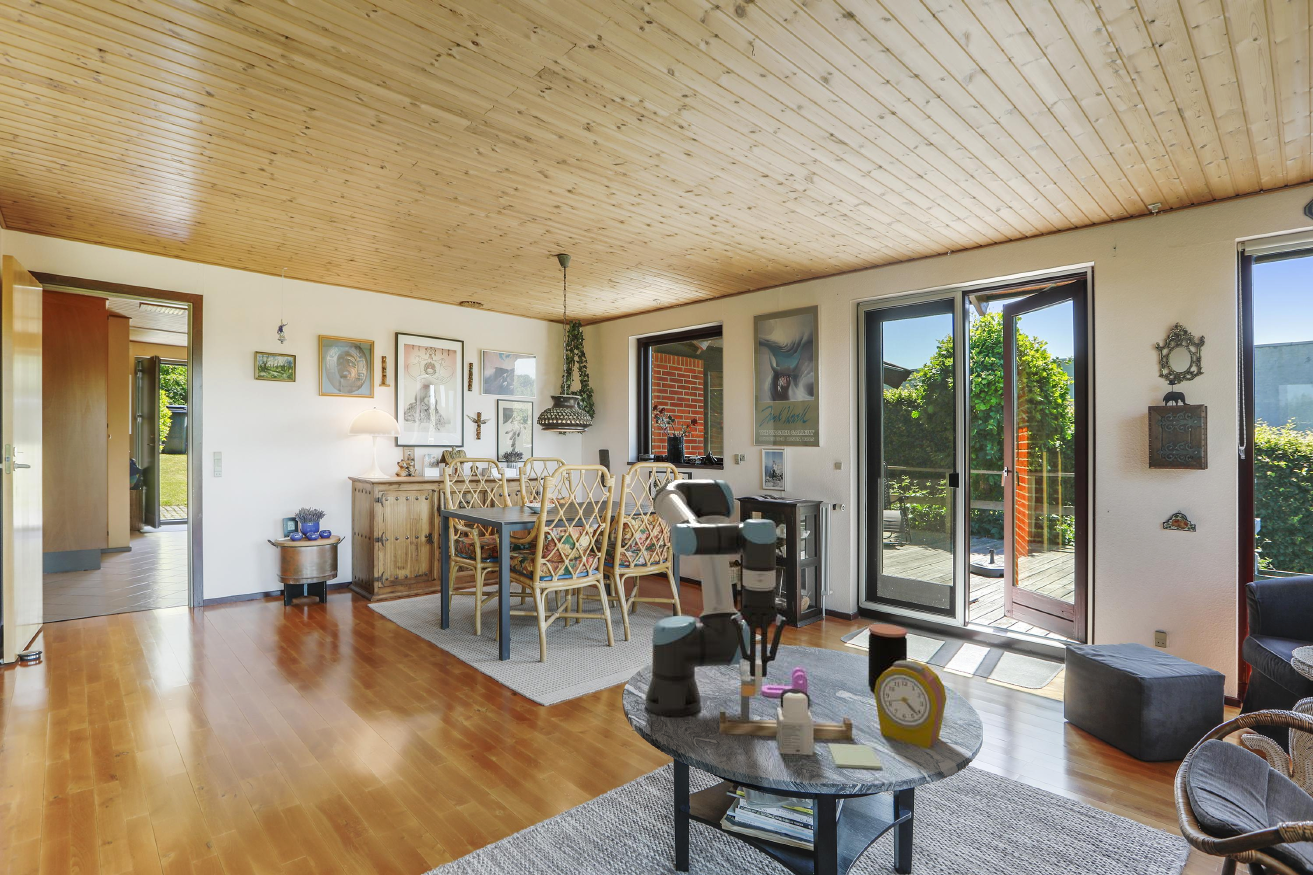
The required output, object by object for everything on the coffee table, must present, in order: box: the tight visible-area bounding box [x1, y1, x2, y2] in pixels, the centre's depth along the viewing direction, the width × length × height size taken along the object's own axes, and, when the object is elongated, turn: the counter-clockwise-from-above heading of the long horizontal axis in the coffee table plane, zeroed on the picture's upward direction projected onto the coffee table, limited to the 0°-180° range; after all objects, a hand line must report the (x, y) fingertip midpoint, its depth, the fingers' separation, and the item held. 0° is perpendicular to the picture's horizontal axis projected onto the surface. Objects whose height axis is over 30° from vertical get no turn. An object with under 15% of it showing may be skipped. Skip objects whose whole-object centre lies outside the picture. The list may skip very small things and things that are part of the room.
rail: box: [719, 711, 853, 741], centre depth 158 cm, size 32×3×4 cm, turn 85°
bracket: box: [760, 667, 808, 698], centre depth 184 cm, size 13×6×7 cm, turn 84°
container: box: [776, 689, 814, 756], centre depth 151 cm, size 8×8×13 cm
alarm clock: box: [873, 660, 947, 749], centre depth 157 cm, size 15×8×18 cm, turn 50°
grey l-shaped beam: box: [738, 659, 756, 723], centre depth 152 cm, size 3×15×15 cm, turn 175°
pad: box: [827, 743, 883, 770], centre depth 146 cm, size 10×10×1 cm
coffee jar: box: [867, 623, 908, 693], centre depth 188 cm, size 11×11×18 cm
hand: (758, 690), depth 146 cm, fingers closed
